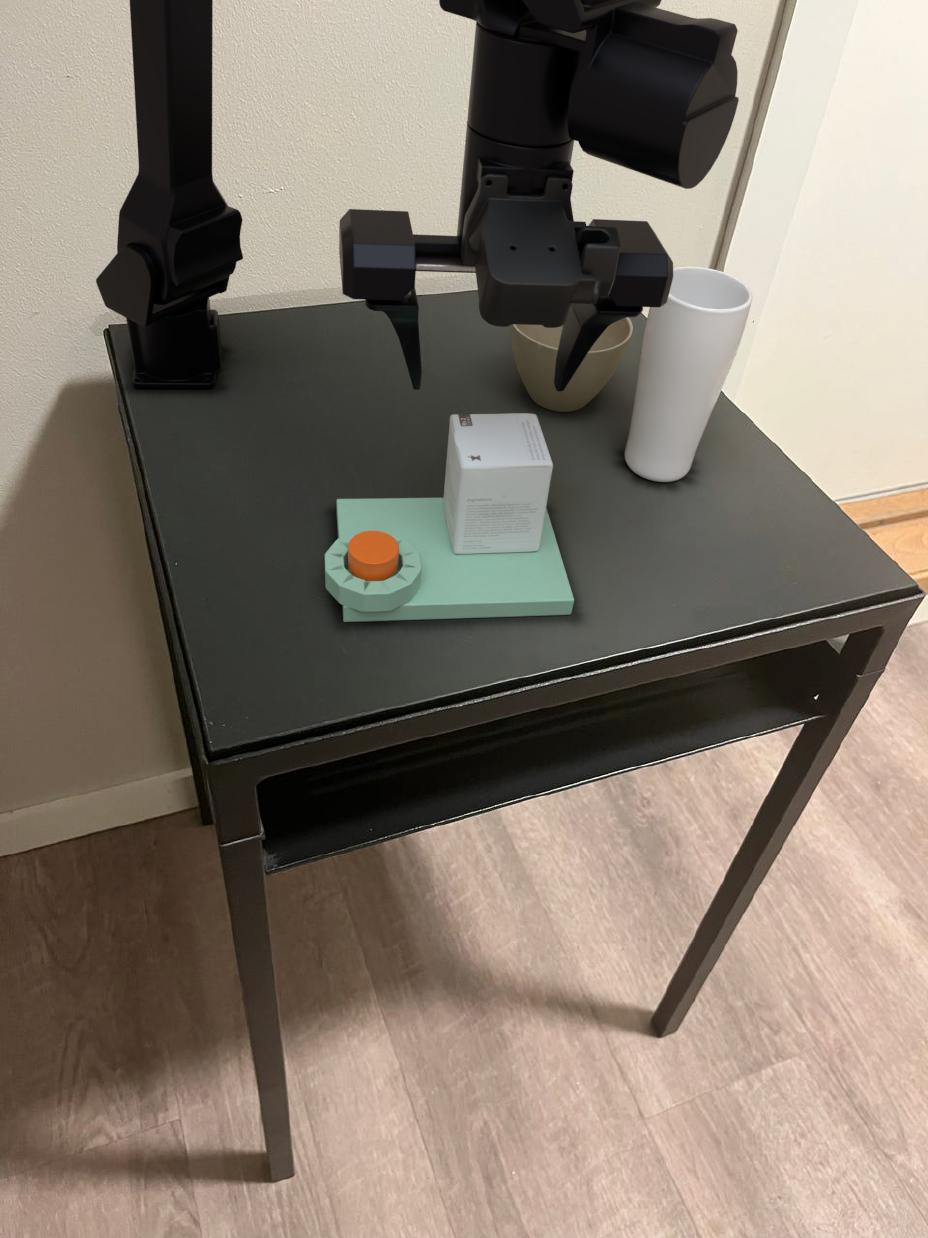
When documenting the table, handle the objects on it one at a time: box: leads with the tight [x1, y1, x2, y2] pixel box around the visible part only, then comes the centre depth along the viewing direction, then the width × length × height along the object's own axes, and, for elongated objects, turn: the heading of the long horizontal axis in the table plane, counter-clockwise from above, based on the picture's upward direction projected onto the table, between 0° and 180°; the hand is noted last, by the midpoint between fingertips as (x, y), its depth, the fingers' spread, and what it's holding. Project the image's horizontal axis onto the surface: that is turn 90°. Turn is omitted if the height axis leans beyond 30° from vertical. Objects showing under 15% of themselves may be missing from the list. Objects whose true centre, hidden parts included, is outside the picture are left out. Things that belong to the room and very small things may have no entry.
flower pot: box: [509, 317, 634, 413], centre depth 81 cm, size 10×10×7 cm
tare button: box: [348, 531, 399, 581], centre depth 61 cm, size 3×3×2 cm
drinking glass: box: [624, 265, 753, 483], centre depth 72 cm, size 7×7×15 cm
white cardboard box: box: [442, 412, 554, 554], centre depth 65 cm, size 6×6×7 cm
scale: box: [324, 497, 575, 623], centre depth 65 cm, size 16×12×3 cm
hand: (487, 387), depth 62 cm, fingers open, 9 cm apart
